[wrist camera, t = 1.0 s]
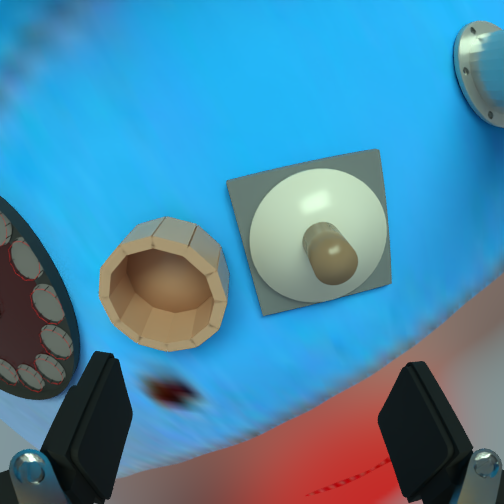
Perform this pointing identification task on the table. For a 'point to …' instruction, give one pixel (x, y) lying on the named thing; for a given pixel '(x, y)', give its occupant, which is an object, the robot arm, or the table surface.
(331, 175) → the lid
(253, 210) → the mat
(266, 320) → the table surface
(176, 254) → the bowl
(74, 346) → the palette wheel
